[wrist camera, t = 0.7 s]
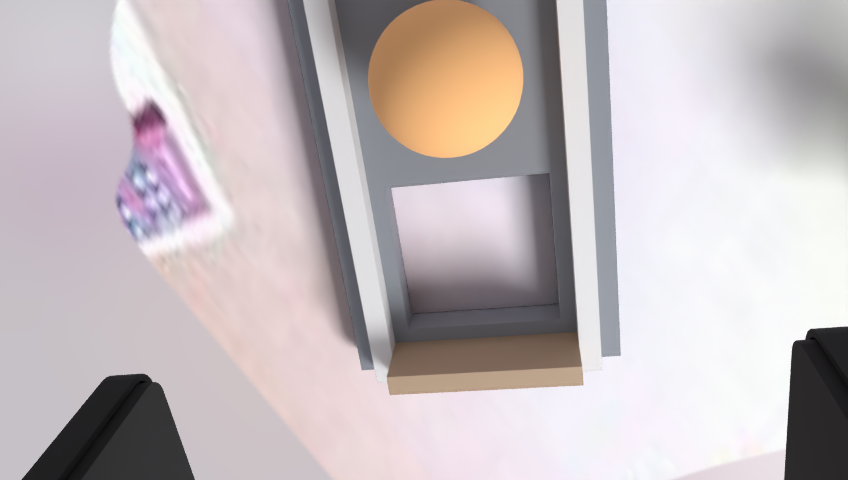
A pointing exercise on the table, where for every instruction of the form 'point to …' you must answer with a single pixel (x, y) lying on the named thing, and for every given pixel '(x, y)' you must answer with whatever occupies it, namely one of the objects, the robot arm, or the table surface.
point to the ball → (445, 78)
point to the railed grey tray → (504, 157)
